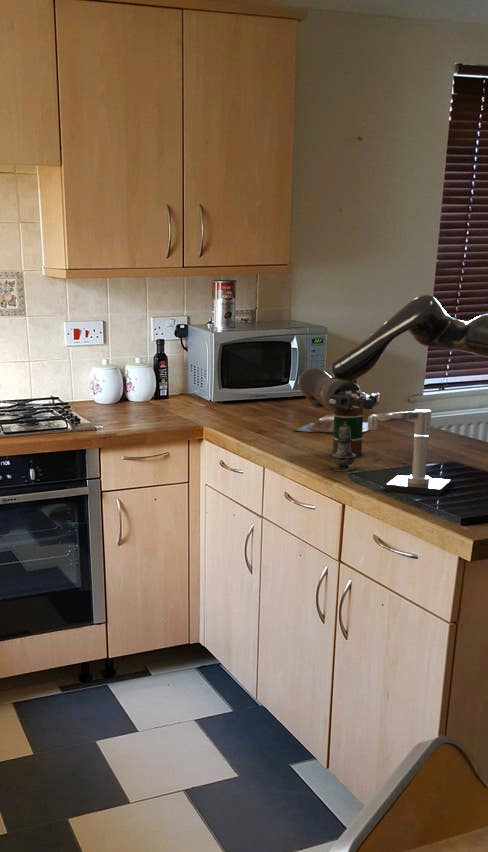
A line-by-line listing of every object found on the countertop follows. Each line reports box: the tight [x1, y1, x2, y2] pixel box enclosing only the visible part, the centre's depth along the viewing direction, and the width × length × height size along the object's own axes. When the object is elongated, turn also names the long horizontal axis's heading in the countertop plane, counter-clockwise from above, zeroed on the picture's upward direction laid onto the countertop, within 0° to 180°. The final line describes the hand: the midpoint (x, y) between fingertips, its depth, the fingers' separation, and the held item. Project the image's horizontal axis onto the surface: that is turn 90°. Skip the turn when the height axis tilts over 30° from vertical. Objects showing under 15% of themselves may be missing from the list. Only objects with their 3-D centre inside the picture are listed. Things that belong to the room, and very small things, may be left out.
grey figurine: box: [331, 421, 357, 472], centre depth 217 cm, size 6×6×12 cm
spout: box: [367, 408, 433, 436], centre depth 192 cm, size 14×4×5 cm, turn 99°
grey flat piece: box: [296, 413, 369, 434], centre depth 278 cm, size 21×20×4 cm
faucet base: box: [385, 434, 451, 497], centre depth 196 cm, size 12×10×12 cm
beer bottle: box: [332, 379, 364, 458], centre depth 233 cm, size 8×8×24 cm
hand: (369, 404), depth 196 cm, fingers closed
